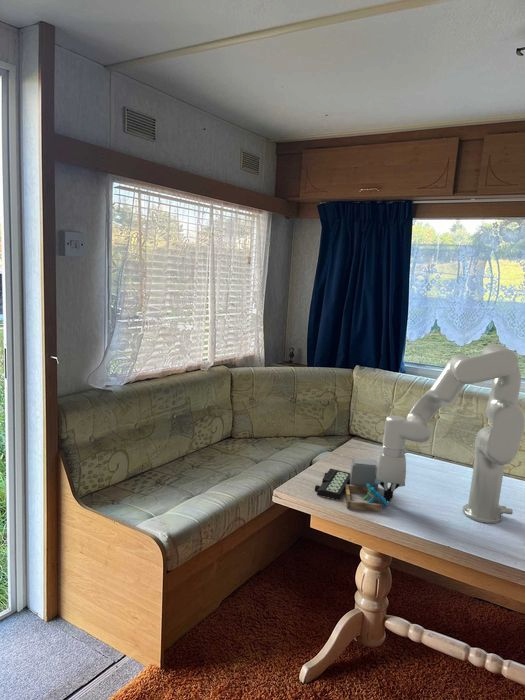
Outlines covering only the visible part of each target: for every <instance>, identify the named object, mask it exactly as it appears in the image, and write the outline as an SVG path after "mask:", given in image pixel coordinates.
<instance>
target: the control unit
mask: <svg viewBox="0 0 525 700" xmlns="http://www.w3.org/2000/svg"><path fill="white" fill-rule="evenodd" d="M376 464H377V459H376V460H375V459H366V458H356V457H355V458H351V461H350V470H349V471H350V472H349V473H350V481H349V484H348V485H358V486H366V484H367V483H368V484H370V485H371V486H372V487H377V492H379V491H378V490H379V484H376V483H375V482H374V479H375V477H376V476H375V471H376Z"/></svg>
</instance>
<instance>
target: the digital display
mask: <svg viewBox="0 0 525 700" xmlns="http://www.w3.org/2000/svg"><path fill="white" fill-rule="evenodd" d="M349 481H350V472H347V471H343V470H339V469H335V468H330V469H329V470H328V471H327V472H325V473H324V475H323V478H322V481H321V485H319V484H317V485H315V486H314V491H315V492H316V495H317V496H319V495H320V496H319V497H323V496H324V498H327V497H329V498H328V499H332V498H334V499H333V500H336V499H339V500H341V498H342V497H343V494H344V493H345V485H346V484H348V485H349Z"/></svg>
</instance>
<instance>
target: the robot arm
mask: <svg viewBox="0 0 525 700" xmlns="http://www.w3.org/2000/svg"><path fill="white" fill-rule="evenodd" d="M490 380H492V384H491V388H490V389H491V390H490V392H489V397H488V401H487V405H486V408H485V416H486V418H487V419H488V421H489V422H490V423H491V425H489V426H484V427H482V428H481V429H479V431H478V432H477V433H476V436H475V442H474V459H473V467H472V469H473V470H472V474H471V475H472V476H471V482H470V490H469V498H468V502H467V504H464V505H463V506H462V512H463V514H464V515H465V516H466V517H468V518H470V519H472V520H474V521H477V522H480V523H484V522H485V524H496V523H499V522H501V521H502V518H503V516H502V515H503V514H504V515H513V513H514V512H513V508H508V507H507V506H506V505H500V504H499V503H500V497H501V492H502V486H503V485H502V484H503V479H504V478H503V477H504V474H505V473H504V471H505V465H509V464H510V463H511V462H513V461H514V459H515V458H516V456H517V453H518V451H519V448H520V446H521V445H520V444H521V441H522V437H523V433H524V428H525V414H524V412H523V410H522V409H521V408H520V406H518V400H519V395H520V390H521V386H522V385H521V384H522V376H521V371H520V368H519V358H518V356H517V354H516V353H515V352H514V351H513V350H511V349H509V348H507V347H505V346H503V345H501V344H498V343H490V344H488V345H486V346H485V347H484V348H483V349H482V352H481V355H478V356H469V355H466V354H463V353H459V354H456V355H453V356H452V357H451V358H450V359H449V361H448V362H447V364H446V365H445V366H444V368H443V369H442V371H441V373H440V374H439V375H438V377H437V379H436V380H435V381H434V383H433V384H432V385H431V387H430V388H429V389H428V390H427V391H426V392H425V393H424V394H423V395H422V396H421V397H420V398H419V399H418V401H416V403H415V404H414V406H413V407H412V409H411V410H410V412H409V413H408V414H407V416H406V418H405V417H403V416H400V415H388V416H387V417H386V418H385V421H384V429H383V438H382V448H381V449H382V450H381V451H379V453H378V457H377V459H376V461H377V464H376V471H375V476H376V477H375V479H374V482H375V483H376V484H378V486H381V488H382V489H383V498H384V499H385V500H386V501H387V502H388V503H389V502H392V500H393V499H394V497H393V496H394V492H395V490H396V489H398V488H401V487H405V486H406V479H407V478H406V477H407V476H406V475H407V457H406V455H405V454H409V452H410V449H409V448H406V441H410V442H414V443H418V444H419V443H420V444H421V443H422V444H423V443H426V442H428V441H429V440H430V439H431V436H432V429H431V427H430V425H429V422H430V420H431V419H432V418H433V416H434V415H435V413H437V412H438V411H439V409H441V408H443V407H446V406H449V405H451V404H453V402H454V401H456V399H457V397H458V396H459V394H460V393H461V391H462V390H463V388H464V387H465V386H466V385H474V384H478V383H483V382H488V381H490ZM388 483H389V484H390V485H389V487H388Z"/></svg>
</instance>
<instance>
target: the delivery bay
mask: <svg viewBox="0 0 525 700" xmlns="http://www.w3.org/2000/svg"><path fill="white" fill-rule="evenodd" d="M373 488H374V489H375V490H376V491H377V487H373ZM367 492H368V487H367V486H358V485H349V484H346V485H345V491H344V493H345V502H346V509H350V510H358V511H359V510H360V511H368V512H369V511H370V512H378V513H382V504H381V503H375V502H372V503H368V502H364V501H357V500H356V501H354V500H351V493H358V494H366V495H367V494H368V493H367Z"/></svg>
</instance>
